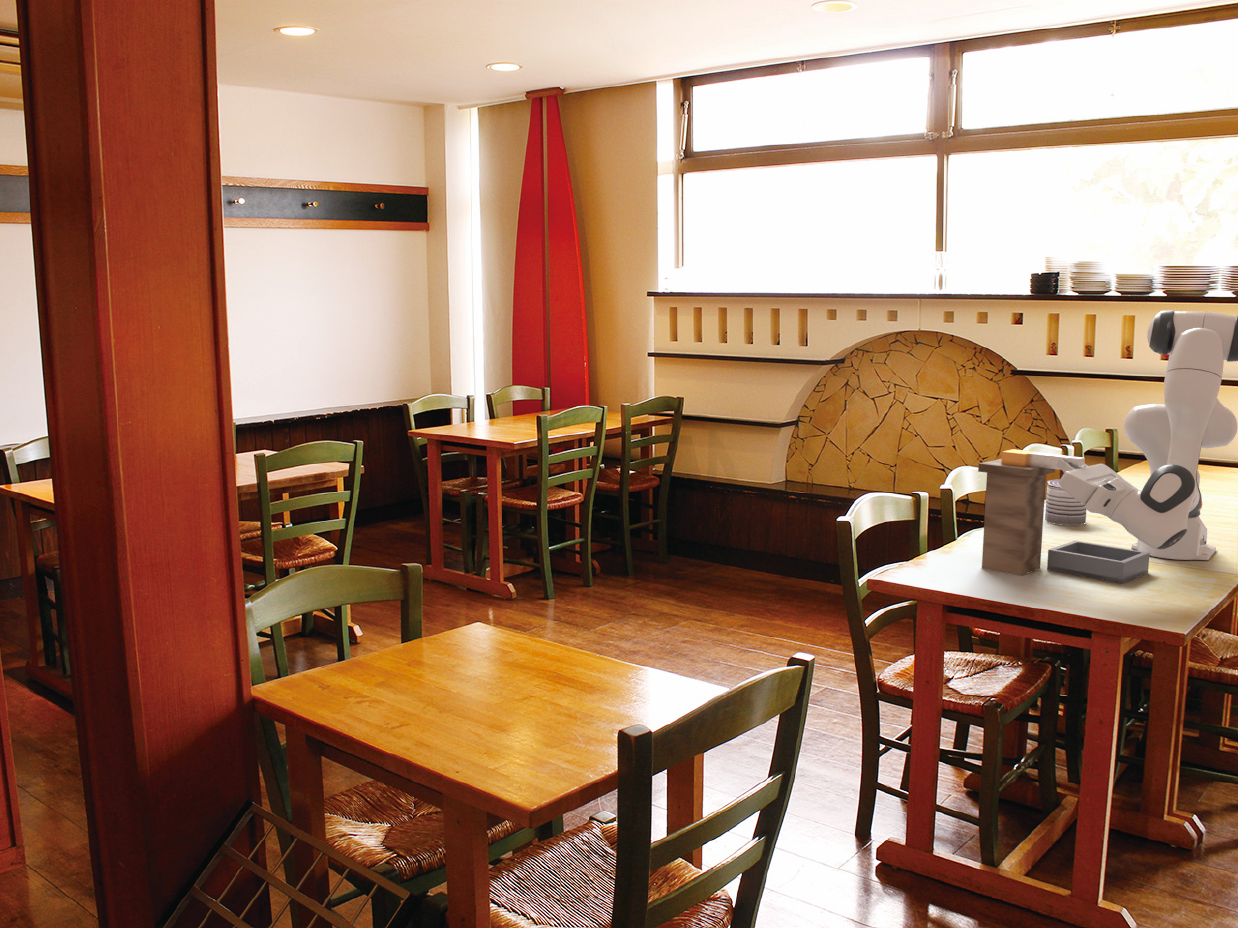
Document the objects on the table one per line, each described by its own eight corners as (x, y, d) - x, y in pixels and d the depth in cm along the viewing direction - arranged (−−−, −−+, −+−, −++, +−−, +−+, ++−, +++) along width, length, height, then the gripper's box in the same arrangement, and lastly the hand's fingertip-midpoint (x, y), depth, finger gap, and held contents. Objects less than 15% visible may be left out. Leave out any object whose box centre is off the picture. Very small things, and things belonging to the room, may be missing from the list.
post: (998, 559, 268) (1004, 458, 264) (1048, 568, 259) (1055, 464, 255) (973, 567, 259) (978, 463, 256) (1023, 577, 250) (1030, 469, 246)
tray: (1074, 559, 268) (1075, 540, 267) (1148, 572, 255) (1149, 552, 254) (1047, 569, 258) (1048, 549, 257) (1122, 583, 245) (1124, 562, 244)
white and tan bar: (1001, 463, 255) (1001, 451, 254) (1013, 461, 259) (1013, 449, 259) (1075, 472, 242) (1076, 459, 242) (1086, 469, 246) (1087, 457, 246)
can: (1080, 518, 320) (1083, 479, 318) (1090, 526, 309) (1093, 486, 307) (1040, 517, 322) (1043, 478, 320) (1049, 525, 311) (1051, 485, 309)
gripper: (1140, 480, 245) (1090, 446, 252) (1102, 490, 231) (1051, 453, 238) (1124, 502, 248) (1075, 467, 255) (1086, 513, 234) (1036, 476, 242)
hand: (1063, 460), depth 247 cm, fingers closed on white and tan bar, 3 cm apart
